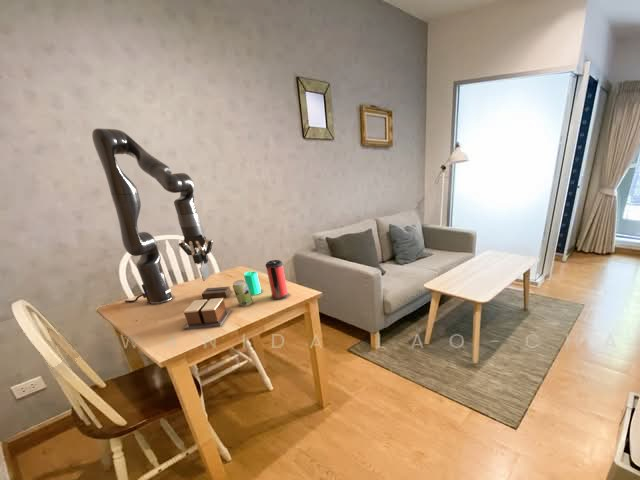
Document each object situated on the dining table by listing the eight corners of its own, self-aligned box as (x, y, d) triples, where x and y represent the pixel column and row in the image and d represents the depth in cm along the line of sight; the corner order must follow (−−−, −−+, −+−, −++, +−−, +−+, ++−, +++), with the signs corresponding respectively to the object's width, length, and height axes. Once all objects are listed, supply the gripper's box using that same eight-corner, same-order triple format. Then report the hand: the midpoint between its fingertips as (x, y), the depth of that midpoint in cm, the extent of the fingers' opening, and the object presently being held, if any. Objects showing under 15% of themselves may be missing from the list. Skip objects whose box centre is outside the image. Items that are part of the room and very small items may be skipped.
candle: (248, 291, 170) (242, 269, 165) (260, 289, 172) (255, 267, 167) (248, 295, 165) (243, 273, 160) (261, 293, 167) (256, 271, 162)
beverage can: (255, 300, 159) (249, 277, 154) (249, 307, 153) (243, 283, 148) (242, 301, 159) (236, 278, 154) (235, 308, 153) (229, 284, 148)
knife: (207, 274, 152) (200, 249, 147) (213, 274, 153) (205, 249, 148) (200, 282, 144) (192, 255, 139) (206, 281, 145) (198, 255, 140)
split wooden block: (184, 329, 136) (179, 313, 132) (197, 313, 148) (193, 299, 145) (220, 326, 138) (216, 310, 134) (230, 311, 150) (226, 296, 147)
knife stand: (203, 299, 162) (201, 294, 161) (208, 293, 169) (207, 288, 168) (226, 297, 164) (225, 292, 162) (231, 291, 170) (229, 286, 169)
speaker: (290, 297, 163) (284, 262, 155) (274, 301, 159) (267, 265, 151) (285, 292, 168) (279, 258, 161) (270, 295, 164) (263, 261, 157)
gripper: (211, 221, 143) (221, 259, 150) (176, 223, 141) (188, 262, 148) (205, 224, 136) (216, 264, 143) (168, 227, 134) (181, 267, 141)
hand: (202, 263), depth 146 cm, fingers closed on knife, 2 cm apart
